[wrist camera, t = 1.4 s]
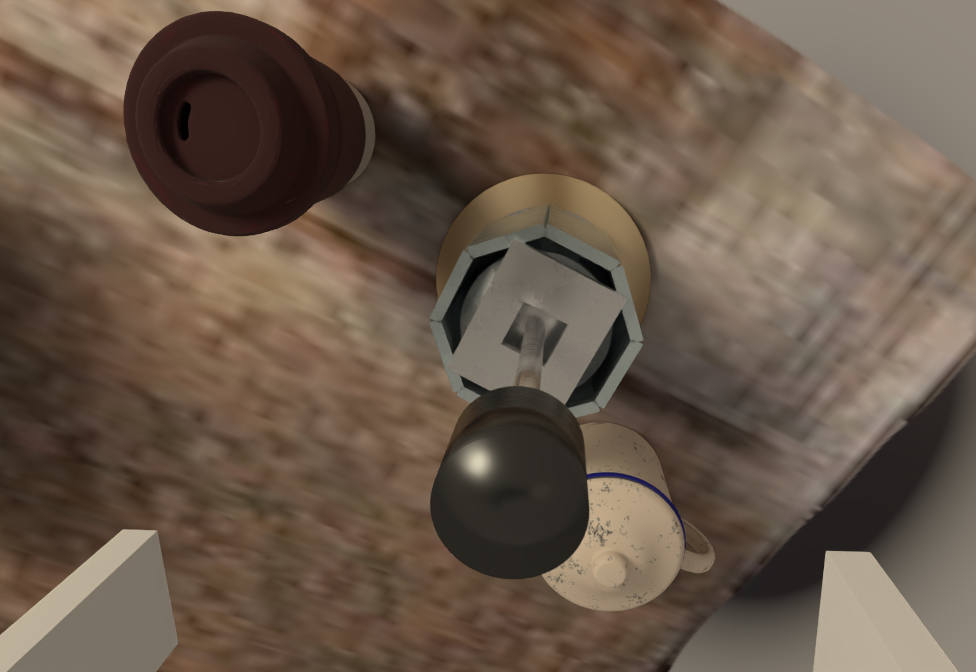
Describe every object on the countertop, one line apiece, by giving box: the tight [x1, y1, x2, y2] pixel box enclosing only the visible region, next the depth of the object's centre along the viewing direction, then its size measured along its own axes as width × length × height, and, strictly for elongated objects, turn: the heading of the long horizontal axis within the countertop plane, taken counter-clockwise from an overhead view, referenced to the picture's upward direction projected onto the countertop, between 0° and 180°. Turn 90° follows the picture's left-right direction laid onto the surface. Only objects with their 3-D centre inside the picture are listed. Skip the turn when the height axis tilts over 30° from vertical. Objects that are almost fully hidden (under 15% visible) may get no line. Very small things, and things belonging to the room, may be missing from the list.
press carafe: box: [429, 204, 644, 418], centre depth 39 cm, size 10×13×12 cm
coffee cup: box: [124, 11, 375, 236], centre depth 37 cm, size 10×10×15 cm
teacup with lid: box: [542, 422, 715, 611], centre depth 43 cm, size 12×9×12 cm
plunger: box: [430, 249, 613, 579], centre depth 26 cm, size 8×8×19 cm
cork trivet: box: [436, 173, 651, 325], centre depth 45 cm, size 14×14×1 cm
